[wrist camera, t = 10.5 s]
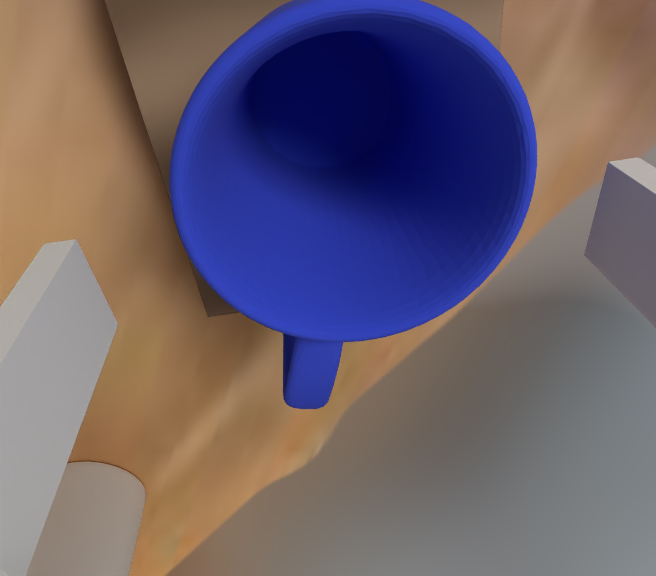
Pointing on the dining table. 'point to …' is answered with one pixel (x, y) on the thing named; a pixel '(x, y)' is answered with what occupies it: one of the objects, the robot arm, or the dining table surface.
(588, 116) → the dining table surface
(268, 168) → the mug
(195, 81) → the board
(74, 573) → the bottle
